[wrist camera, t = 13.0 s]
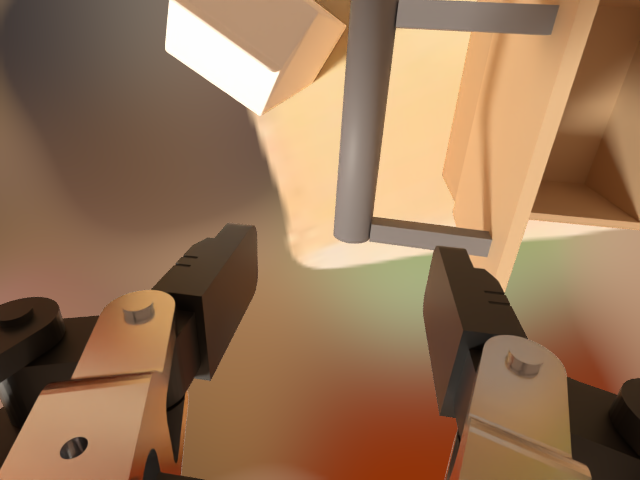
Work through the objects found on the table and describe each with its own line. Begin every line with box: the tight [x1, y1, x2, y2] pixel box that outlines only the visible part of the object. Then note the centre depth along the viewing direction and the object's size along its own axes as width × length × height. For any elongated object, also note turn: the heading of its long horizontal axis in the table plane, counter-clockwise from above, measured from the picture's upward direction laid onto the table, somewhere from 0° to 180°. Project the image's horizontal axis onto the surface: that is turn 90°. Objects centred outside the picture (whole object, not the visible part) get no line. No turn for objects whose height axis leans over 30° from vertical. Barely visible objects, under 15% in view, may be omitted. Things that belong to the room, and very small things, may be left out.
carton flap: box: [334, 0, 600, 293], centre depth 22 cm, size 16×14×9 cm
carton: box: [442, 0, 640, 230], centre depth 31 cm, size 16×14×10 cm
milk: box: [165, 0, 347, 116], centre depth 26 cm, size 6×6×22 cm
